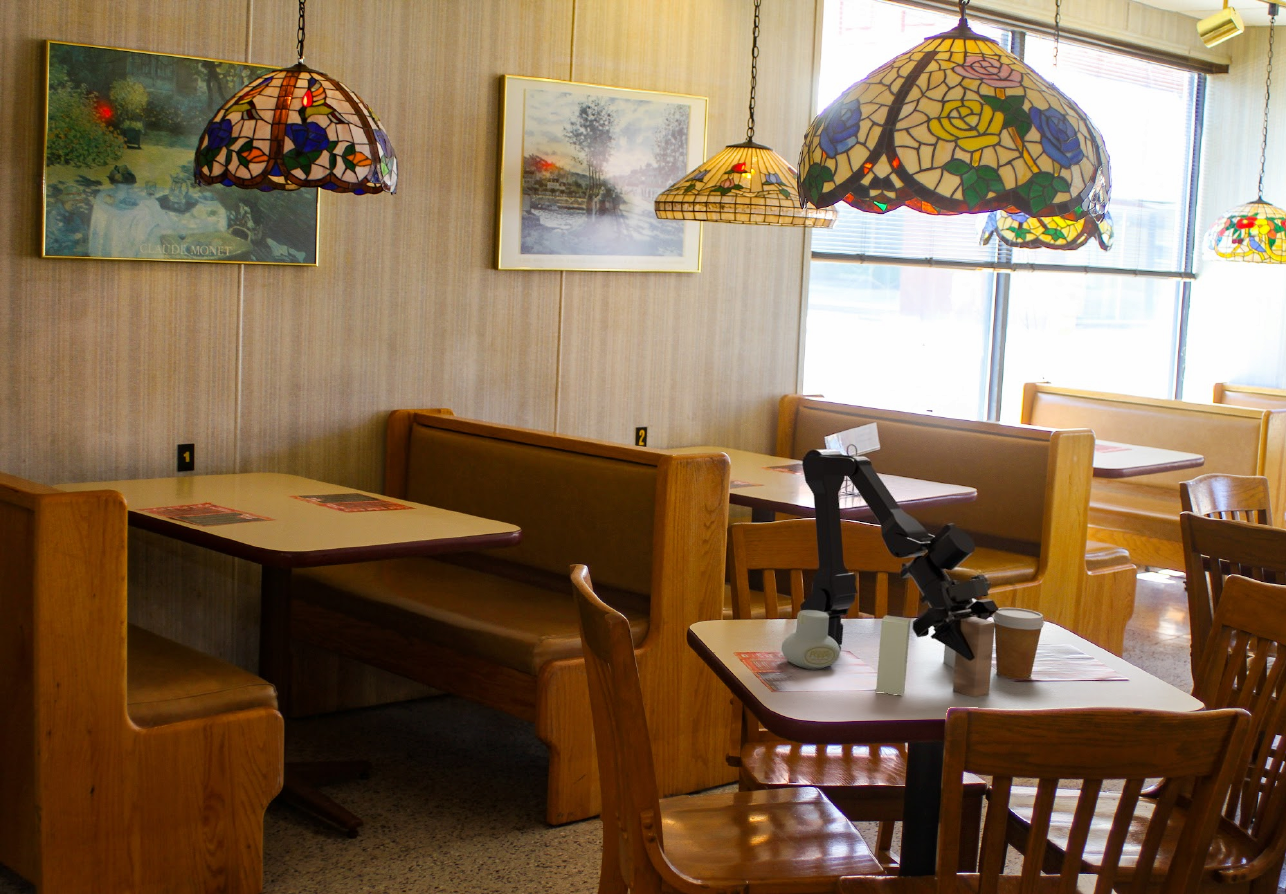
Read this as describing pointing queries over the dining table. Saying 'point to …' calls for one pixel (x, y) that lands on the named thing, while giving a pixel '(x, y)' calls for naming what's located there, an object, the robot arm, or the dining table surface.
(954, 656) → the grey post
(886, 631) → the sage post
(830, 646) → the air freshener
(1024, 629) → the disposable coffee cup
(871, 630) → the dining table surface
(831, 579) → the robot arm
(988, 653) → the walnut post
